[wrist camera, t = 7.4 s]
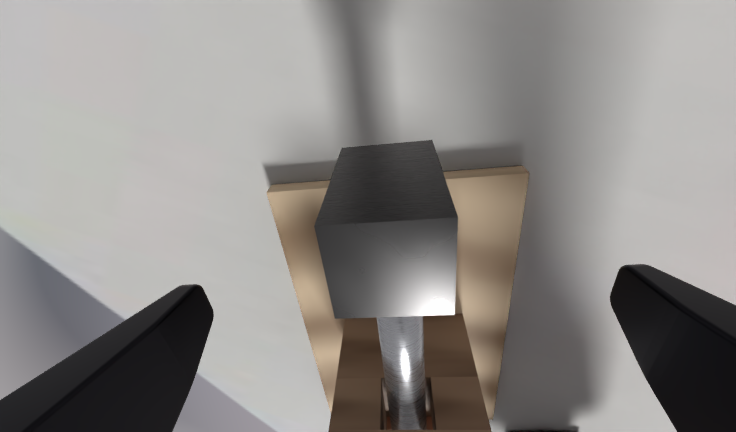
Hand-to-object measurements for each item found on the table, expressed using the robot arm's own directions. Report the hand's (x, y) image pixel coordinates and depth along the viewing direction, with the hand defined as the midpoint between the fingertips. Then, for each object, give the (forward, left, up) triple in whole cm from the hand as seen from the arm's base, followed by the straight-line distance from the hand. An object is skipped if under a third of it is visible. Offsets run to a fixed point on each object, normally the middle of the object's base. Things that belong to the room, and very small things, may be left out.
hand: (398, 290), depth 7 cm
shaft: (-7, 0, -6) cm, 9 cm away
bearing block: (-15, 0, -12) cm, 19 cm away
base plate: (-14, 0, -12) cm, 18 cm away
